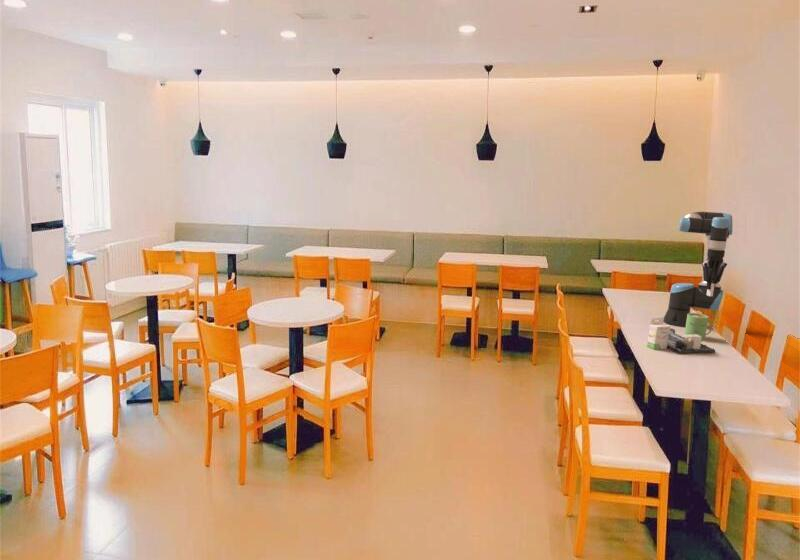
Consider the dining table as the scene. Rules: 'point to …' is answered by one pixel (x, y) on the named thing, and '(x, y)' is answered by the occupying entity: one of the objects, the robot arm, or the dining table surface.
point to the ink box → (658, 334)
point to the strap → (680, 338)
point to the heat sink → (675, 341)
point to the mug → (697, 325)
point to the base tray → (682, 351)
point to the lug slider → (694, 340)
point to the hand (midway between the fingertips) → (709, 295)
